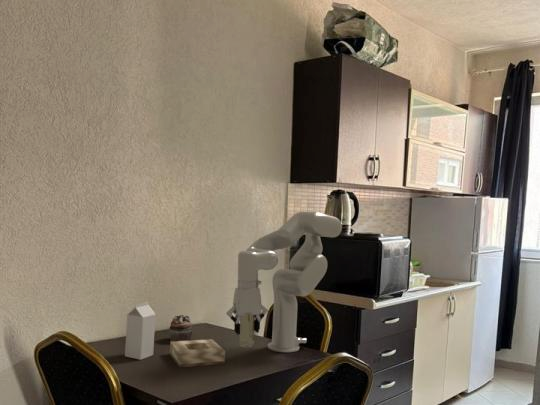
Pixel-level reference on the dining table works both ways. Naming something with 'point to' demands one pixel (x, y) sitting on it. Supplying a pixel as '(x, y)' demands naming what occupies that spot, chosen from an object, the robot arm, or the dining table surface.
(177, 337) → the cupcake
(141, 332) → the milk carton
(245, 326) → the skincare box
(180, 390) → the dining table surface
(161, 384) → the dining table surface
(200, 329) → the dining table surface
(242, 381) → the dining table surface
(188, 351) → the socket block
